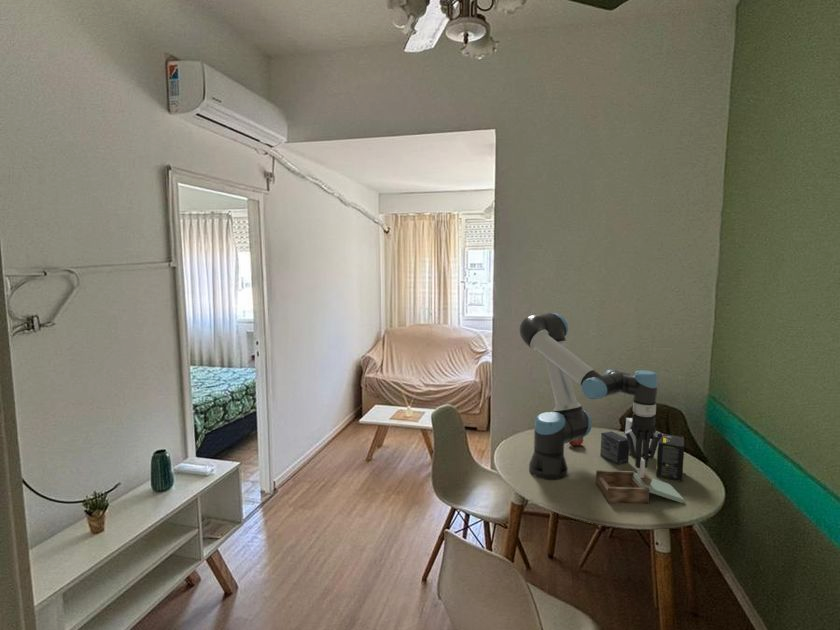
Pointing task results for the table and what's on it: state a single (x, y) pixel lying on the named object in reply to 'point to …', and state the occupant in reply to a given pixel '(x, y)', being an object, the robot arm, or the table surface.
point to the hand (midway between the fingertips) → (640, 476)
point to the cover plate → (658, 487)
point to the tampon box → (670, 457)
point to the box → (621, 487)
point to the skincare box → (628, 427)
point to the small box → (614, 448)
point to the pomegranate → (576, 442)
